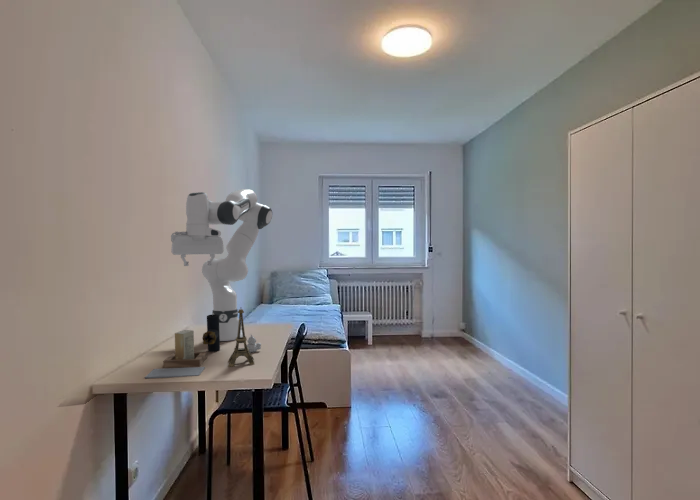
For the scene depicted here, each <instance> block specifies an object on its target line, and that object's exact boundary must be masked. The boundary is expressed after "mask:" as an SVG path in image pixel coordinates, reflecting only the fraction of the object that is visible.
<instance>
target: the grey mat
mask: <svg viewBox="0 0 700 500" xmlns="http://www.w3.org/2000/svg"><path fill="white" fill-rule="evenodd" d="M205 369H206V366H200V367H179V368H153V369H152V370H151V371H150V372H149V373H147V375H146V376H144V379H163V378H164V379H165V378H183V377H184V378H185V377H199V376H200V375H201V373H203V372H204V370H205Z"/></svg>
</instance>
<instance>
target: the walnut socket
mask: <svg viewBox="0 0 700 500" xmlns="http://www.w3.org/2000/svg"><path fill="white" fill-rule="evenodd" d="M206 359H207V351H194V359H179V360H175V352H172V353H170V354H169V356H167V358H165V359H164V360H163V361H162V362H163V363H162V367H163V368H162V369H165V368H191V367H201V365H203V363H204V362H205V360H206Z"/></svg>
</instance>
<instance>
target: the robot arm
mask: <svg viewBox="0 0 700 500" xmlns="http://www.w3.org/2000/svg"><path fill="white" fill-rule="evenodd" d="M185 205H186V206H185V215H186V223H185V224H186V226H185V227H186V228H185V229H186V230H185V231H175V232H173V233H171V235H170V241H171V253H172V255H175V256H176V255H177V256H179V255H180V258H181V260H182V261H183V267H189V266H190V265H189V264H190V263H189V261H187V260H186V257H187V255H209V257H210V259H209V260H205V262H203V264H202V266H201V267H202V268H201V273H202V275H203V278H205V279H206V280H207V282H208V283H209V286H210V289H211V292H212V304H213V305H212V307H213V310H212V314H217V315H219V333H220V342H227V341H228V342H229V341H236V337H237V335H238V325H239V313H238V311H239V309H238V307H237V305H238V303H237V302H238V301H237V298H238V296H237V292H236V291H235V290H234V289H233V288H232V286H231V284H230V283H231V282H233V283H235V282H241V281H243V280H245V279H246V277H247V276H248V272H249V267H248V264H247V263H246V260H247V258H248V257H247V256H248V255H249V252H250V250H251V249H252V247H253V245H254V244H255V243H256V240H257V237H258V235H259V230H262V229H264V228H265V227H266V226H268V225H269V224H270V223H271V220H272V218H273V211H272V208H271V207H269V206H268V205H266V204H262V203H259V202H258V196H257V194H256V192H255V191H254V190H252V189H249V188H243V189H242V188H241V189H237V190H234V191H232V192H231V193H229V194H228V195H227V196H226V197H225V200H224V201H212V200H210V199H209V198H208V193H207V192H203V191H202V192H201V191H199V192H190V193H189V194H188V195H187V197H186V203H185ZM239 220H240V221H242V223H241V225H239V227H237V229H236V230H235V231H234V233H233V234H232V236H231V238H230V240H229V241H228V242H227V244H226V251H227V253H228V254H227V255H226V257H224V258H216V255H222V254H223V253H224V250H225V249H224V241H223V238H222V237H221V235H222V232H221V231H220V230H218V229H215V228H211V227H210V225H228V226H231V225H235V224H236V223H237V222H238V221H239ZM212 314H211V315H212ZM240 337H243V335H242V327H241V330H240Z"/></svg>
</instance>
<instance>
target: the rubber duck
mask: <svg viewBox="0 0 700 500" xmlns="http://www.w3.org/2000/svg"><path fill="white" fill-rule="evenodd" d="M246 342H247V343H246V345H247V347H248V349H249V352H250V353H251V354H252V353H253V354H254V353H256V352H257V351H258V350H261V349H262V348H261V347H262V343H261V342H257V339H256V338H255V336H253V335H252V334H250V336H249V337H248V339H247V340H246Z"/></svg>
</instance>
